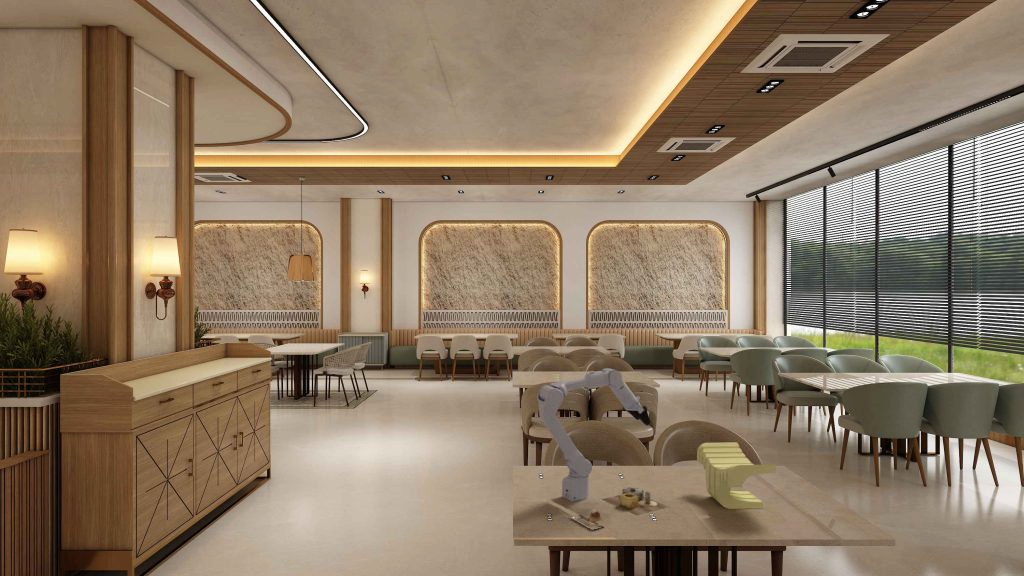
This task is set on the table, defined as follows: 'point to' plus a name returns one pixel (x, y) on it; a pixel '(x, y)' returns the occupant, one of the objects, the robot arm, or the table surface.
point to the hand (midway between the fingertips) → (644, 421)
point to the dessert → (593, 516)
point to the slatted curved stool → (729, 474)
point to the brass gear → (629, 500)
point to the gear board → (643, 502)
